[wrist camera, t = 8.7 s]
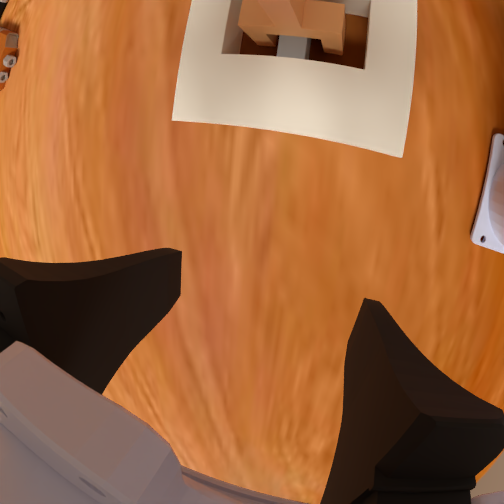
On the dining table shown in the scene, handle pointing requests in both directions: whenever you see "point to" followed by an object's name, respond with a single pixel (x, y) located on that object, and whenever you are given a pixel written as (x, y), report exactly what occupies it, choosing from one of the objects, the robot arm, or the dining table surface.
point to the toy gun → (6, 49)
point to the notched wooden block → (294, 21)
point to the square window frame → (301, 78)
